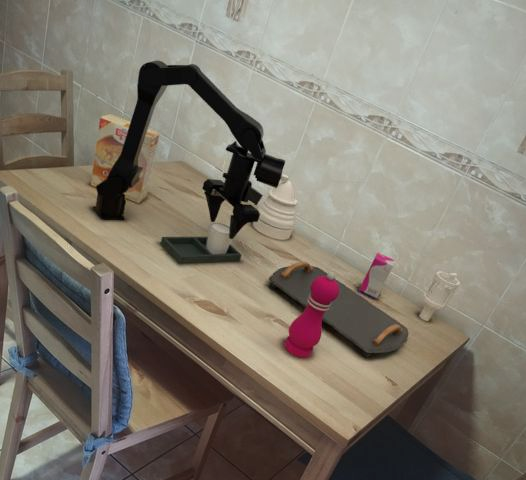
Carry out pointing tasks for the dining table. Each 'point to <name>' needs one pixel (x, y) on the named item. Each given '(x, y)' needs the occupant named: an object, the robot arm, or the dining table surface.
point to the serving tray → (344, 310)
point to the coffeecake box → (111, 148)
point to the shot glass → (218, 238)
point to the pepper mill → (312, 316)
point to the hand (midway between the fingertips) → (221, 230)
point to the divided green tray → (196, 251)
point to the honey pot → (278, 211)
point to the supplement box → (377, 275)
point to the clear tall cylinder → (438, 293)
